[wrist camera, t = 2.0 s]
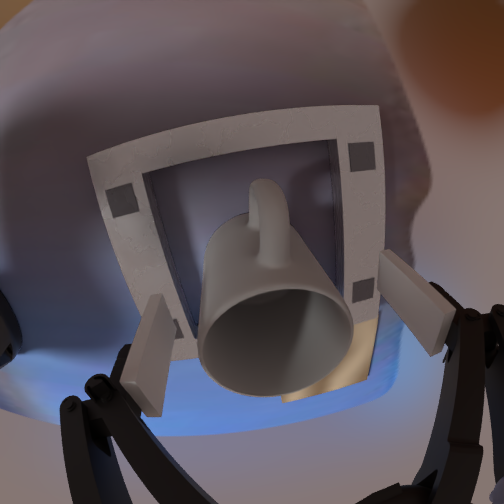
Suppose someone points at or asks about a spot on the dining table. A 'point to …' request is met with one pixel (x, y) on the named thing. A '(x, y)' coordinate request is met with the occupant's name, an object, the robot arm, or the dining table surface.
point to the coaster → (345, 364)
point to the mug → (268, 304)
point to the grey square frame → (233, 140)
